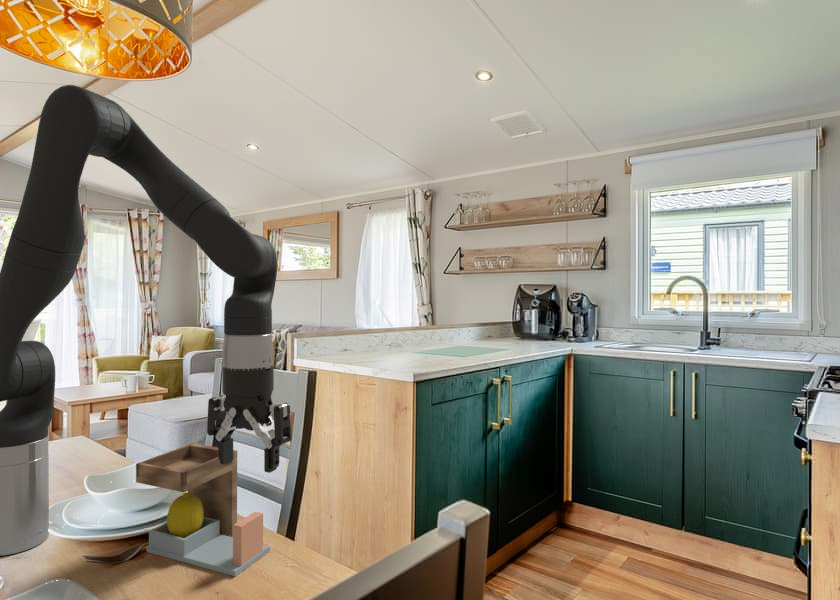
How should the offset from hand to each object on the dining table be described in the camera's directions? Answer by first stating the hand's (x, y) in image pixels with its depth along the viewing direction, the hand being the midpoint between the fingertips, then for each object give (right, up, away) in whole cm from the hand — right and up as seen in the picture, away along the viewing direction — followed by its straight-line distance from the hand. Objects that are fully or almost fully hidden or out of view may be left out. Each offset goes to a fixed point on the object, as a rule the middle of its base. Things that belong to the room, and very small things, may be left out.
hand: (248, 467), depth 81 cm
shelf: (-12, -15, +5) cm, 20 cm away
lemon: (-12, -14, +5) cm, 19 cm away
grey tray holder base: (-8, -15, +3) cm, 17 cm away
